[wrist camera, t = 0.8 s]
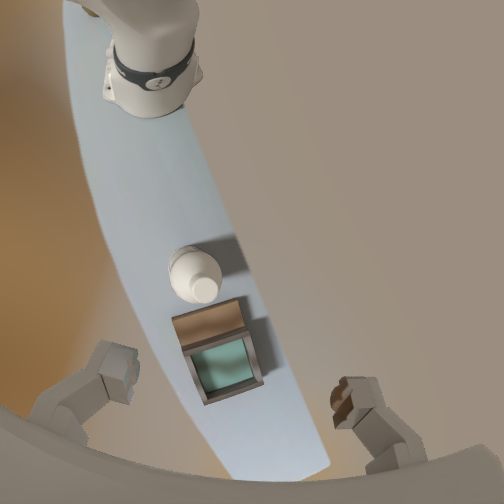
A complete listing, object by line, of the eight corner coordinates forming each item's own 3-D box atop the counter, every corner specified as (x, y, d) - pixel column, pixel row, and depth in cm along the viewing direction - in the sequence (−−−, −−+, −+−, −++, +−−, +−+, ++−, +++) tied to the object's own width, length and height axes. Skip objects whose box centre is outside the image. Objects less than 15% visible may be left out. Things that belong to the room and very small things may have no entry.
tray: (171, 317, 49) (172, 325, 45) (234, 297, 52) (241, 304, 48) (202, 397, 52) (205, 409, 48) (257, 377, 55) (265, 388, 51)
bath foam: (210, 282, 51) (240, 316, 32) (171, 288, 49) (178, 326, 30) (205, 243, 50) (234, 254, 31) (165, 248, 48) (169, 262, 29)
